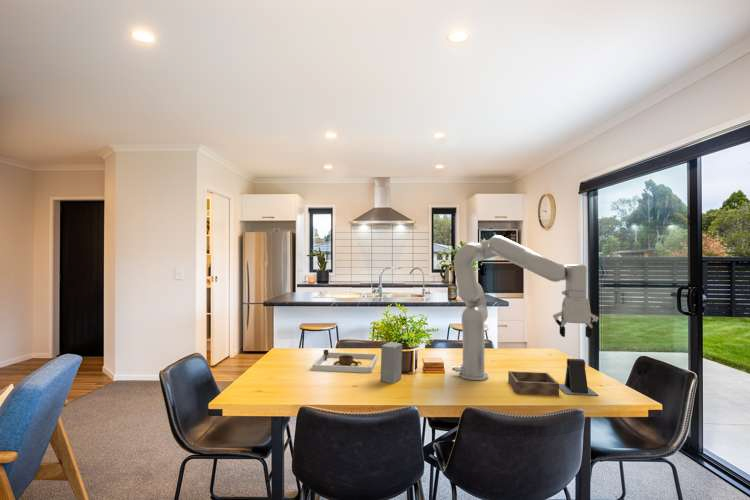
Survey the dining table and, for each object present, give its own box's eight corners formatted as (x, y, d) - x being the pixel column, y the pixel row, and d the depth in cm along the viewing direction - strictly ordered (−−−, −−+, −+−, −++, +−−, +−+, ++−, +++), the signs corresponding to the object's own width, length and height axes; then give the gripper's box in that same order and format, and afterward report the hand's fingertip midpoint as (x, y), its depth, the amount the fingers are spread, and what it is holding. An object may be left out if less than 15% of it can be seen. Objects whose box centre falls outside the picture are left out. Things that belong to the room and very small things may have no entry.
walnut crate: (516, 393, 156) (516, 381, 156) (508, 381, 171) (508, 371, 171) (559, 395, 154) (559, 383, 154) (547, 383, 169) (547, 372, 169)
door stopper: (588, 393, 156) (588, 362, 156) (572, 392, 157) (571, 361, 157) (579, 386, 165) (579, 356, 165) (564, 385, 165) (564, 356, 166)
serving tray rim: (312, 370, 186) (312, 365, 186) (325, 356, 212) (325, 352, 212) (371, 372, 183) (371, 367, 183) (377, 358, 209) (377, 354, 209)
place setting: (331, 371, 187) (331, 359, 187) (321, 361, 206) (321, 349, 206) (366, 368, 193) (366, 356, 193) (353, 358, 212) (353, 347, 212)
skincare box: (388, 376, 177) (389, 341, 177) (403, 379, 173) (403, 342, 174) (379, 381, 170) (379, 344, 170) (394, 384, 166) (394, 346, 166)
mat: (565, 394, 155) (565, 393, 155) (555, 384, 167) (555, 383, 167) (598, 396, 154) (598, 394, 154) (585, 386, 166) (585, 385, 166)
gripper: (556, 294, 159) (556, 337, 158) (602, 296, 157) (602, 339, 156) (550, 293, 166) (550, 334, 166) (594, 294, 164) (593, 335, 164)
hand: (575, 336), depth 161 cm, fingers open, 9 cm apart
